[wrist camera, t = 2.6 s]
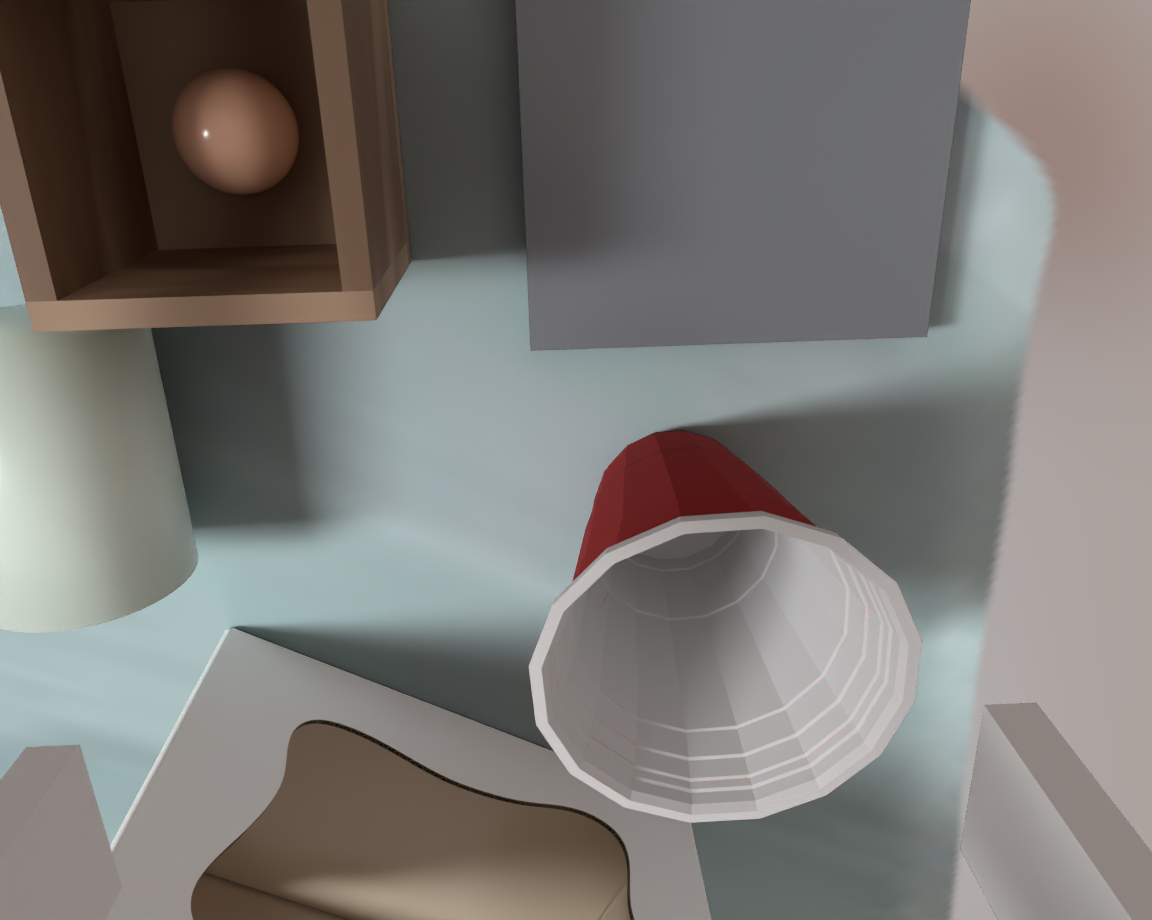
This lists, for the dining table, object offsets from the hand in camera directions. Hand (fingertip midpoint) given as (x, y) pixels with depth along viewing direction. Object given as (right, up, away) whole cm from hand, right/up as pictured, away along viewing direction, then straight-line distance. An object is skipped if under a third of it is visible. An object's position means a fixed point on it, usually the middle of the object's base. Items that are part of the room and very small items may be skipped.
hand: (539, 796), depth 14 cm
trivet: (+6, +16, +17) cm, 24 cm away
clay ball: (-10, +15, +14) cm, 23 cm away
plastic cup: (+4, +3, +23) cm, 23 cm away
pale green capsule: (-16, +6, +20) cm, 26 cm away
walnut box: (-10, +16, +16) cm, 25 cm away
